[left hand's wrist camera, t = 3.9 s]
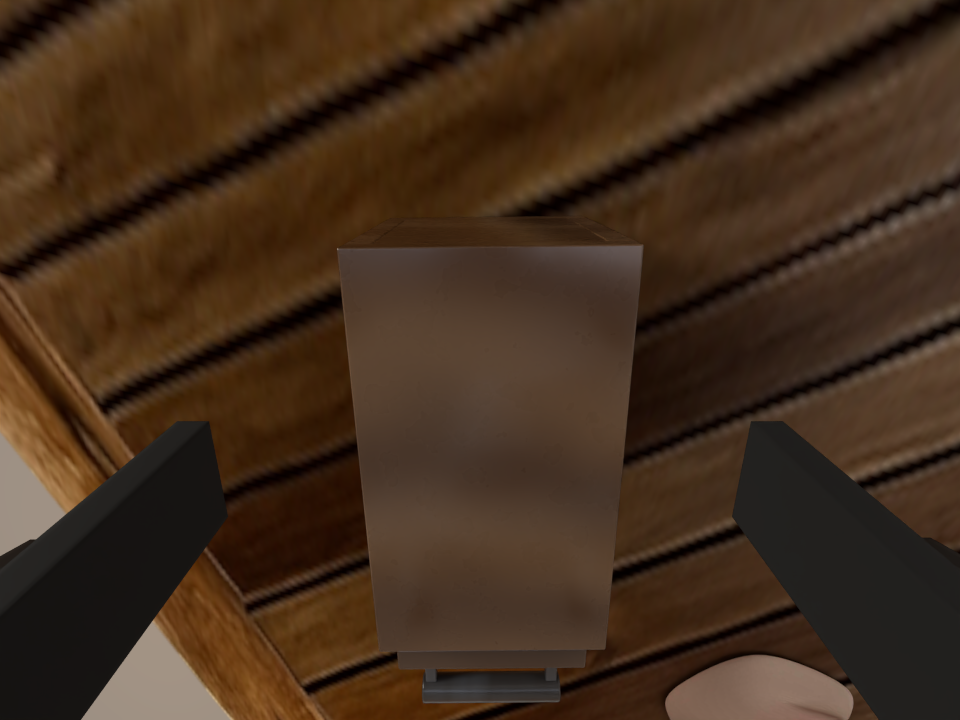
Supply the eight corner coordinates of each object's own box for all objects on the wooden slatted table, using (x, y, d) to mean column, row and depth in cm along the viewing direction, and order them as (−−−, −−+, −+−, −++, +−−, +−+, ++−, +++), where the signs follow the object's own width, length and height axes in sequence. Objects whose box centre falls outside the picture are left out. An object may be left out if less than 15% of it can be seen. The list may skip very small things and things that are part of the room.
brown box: (567, 503, 34) (605, 650, 24) (409, 505, 34) (378, 652, 24) (583, 215, 28) (644, 244, 17) (389, 218, 28) (336, 247, 17)
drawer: (555, 612, 36) (578, 749, 27) (423, 613, 36) (405, 750, 27) (571, 286, 28) (611, 338, 20) (402, 288, 28) (369, 340, 20)
